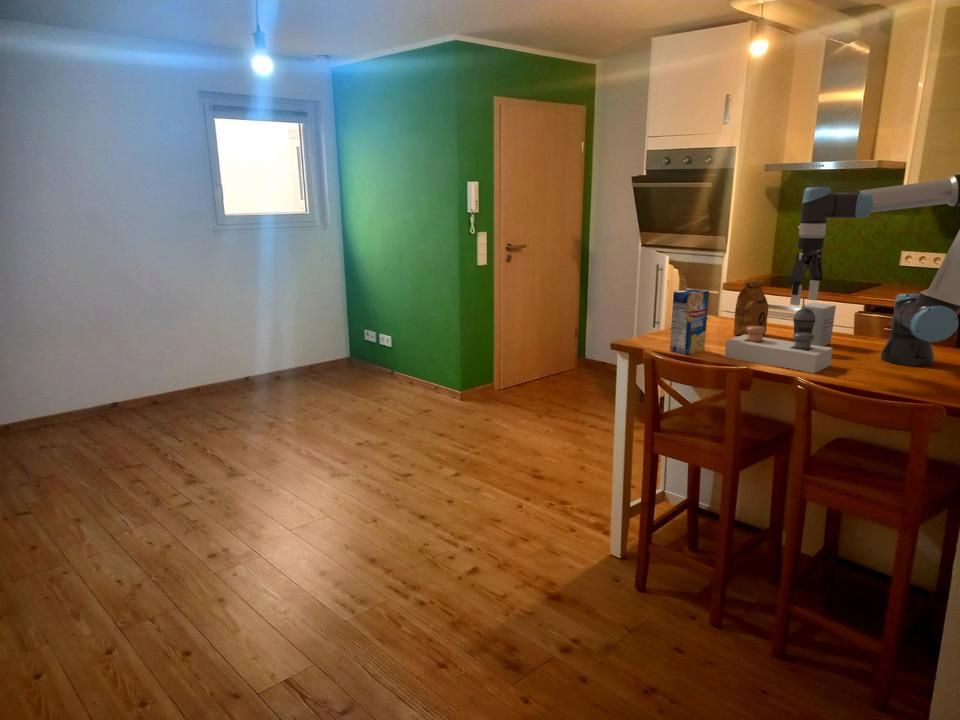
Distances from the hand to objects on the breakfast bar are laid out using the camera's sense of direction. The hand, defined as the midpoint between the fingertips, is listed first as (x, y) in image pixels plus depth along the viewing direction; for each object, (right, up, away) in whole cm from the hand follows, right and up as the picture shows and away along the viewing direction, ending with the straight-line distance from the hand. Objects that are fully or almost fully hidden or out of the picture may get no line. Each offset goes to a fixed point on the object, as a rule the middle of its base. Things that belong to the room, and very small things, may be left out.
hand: (803, 302), depth 213 cm
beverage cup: (+10, -16, +23) cm, 30 cm away
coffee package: (+3, -9, +49) cm, 50 cm away
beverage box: (-31, -16, +24) cm, 42 cm away
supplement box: (+21, -13, +34) cm, 42 cm away
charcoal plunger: (+1, -16, +2) cm, 16 cm away
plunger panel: (-5, -19, +9) cm, 22 cm away
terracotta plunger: (-10, -13, +14) cm, 21 cm away
